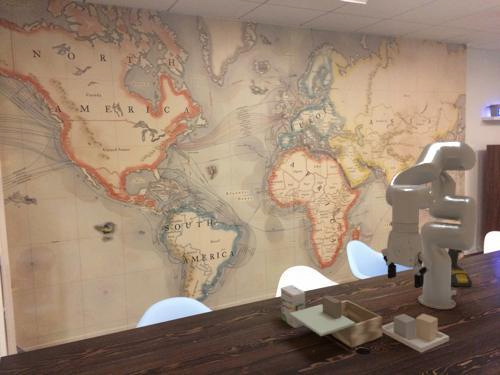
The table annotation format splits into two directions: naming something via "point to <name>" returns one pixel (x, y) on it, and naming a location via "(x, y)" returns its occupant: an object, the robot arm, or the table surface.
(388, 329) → the white tray
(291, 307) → the ink box
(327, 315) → the sage lid
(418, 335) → the sandstone block
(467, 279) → the power drill
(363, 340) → the birch box
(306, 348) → the table surface
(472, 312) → the table surface
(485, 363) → the table surface
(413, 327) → the granite block
